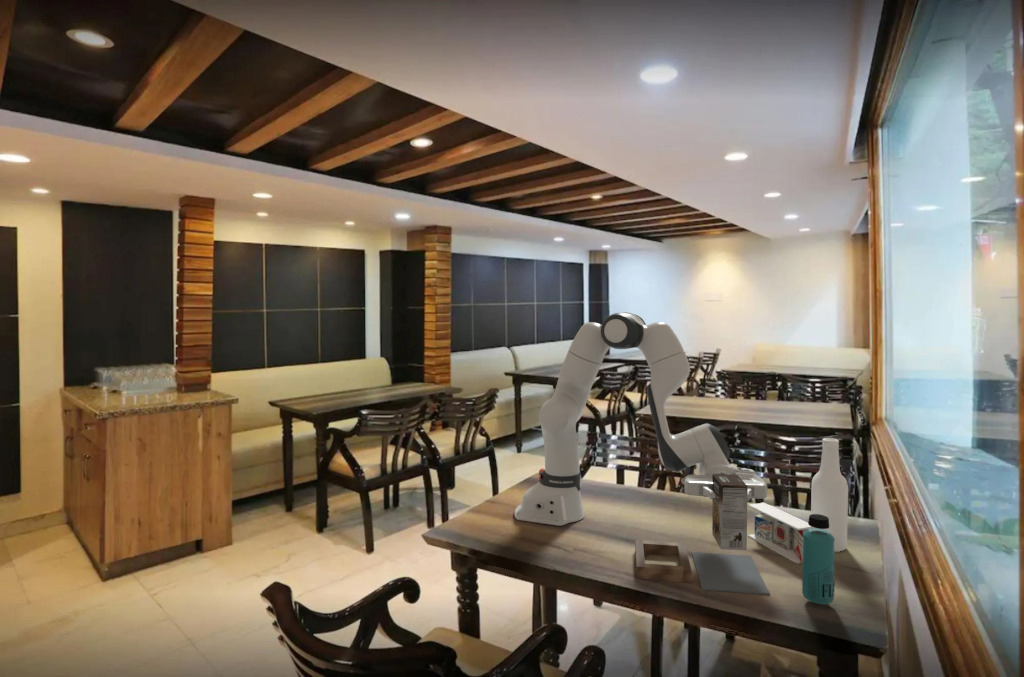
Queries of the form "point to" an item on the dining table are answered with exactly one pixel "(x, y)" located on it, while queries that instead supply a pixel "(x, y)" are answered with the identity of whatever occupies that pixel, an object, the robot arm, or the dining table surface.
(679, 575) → the walnut cradle
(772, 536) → the cigarette display
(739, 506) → the coffee box
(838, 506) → the alcohol
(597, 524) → the dining table surface
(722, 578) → the rubber mat
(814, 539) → the beverage bottle
